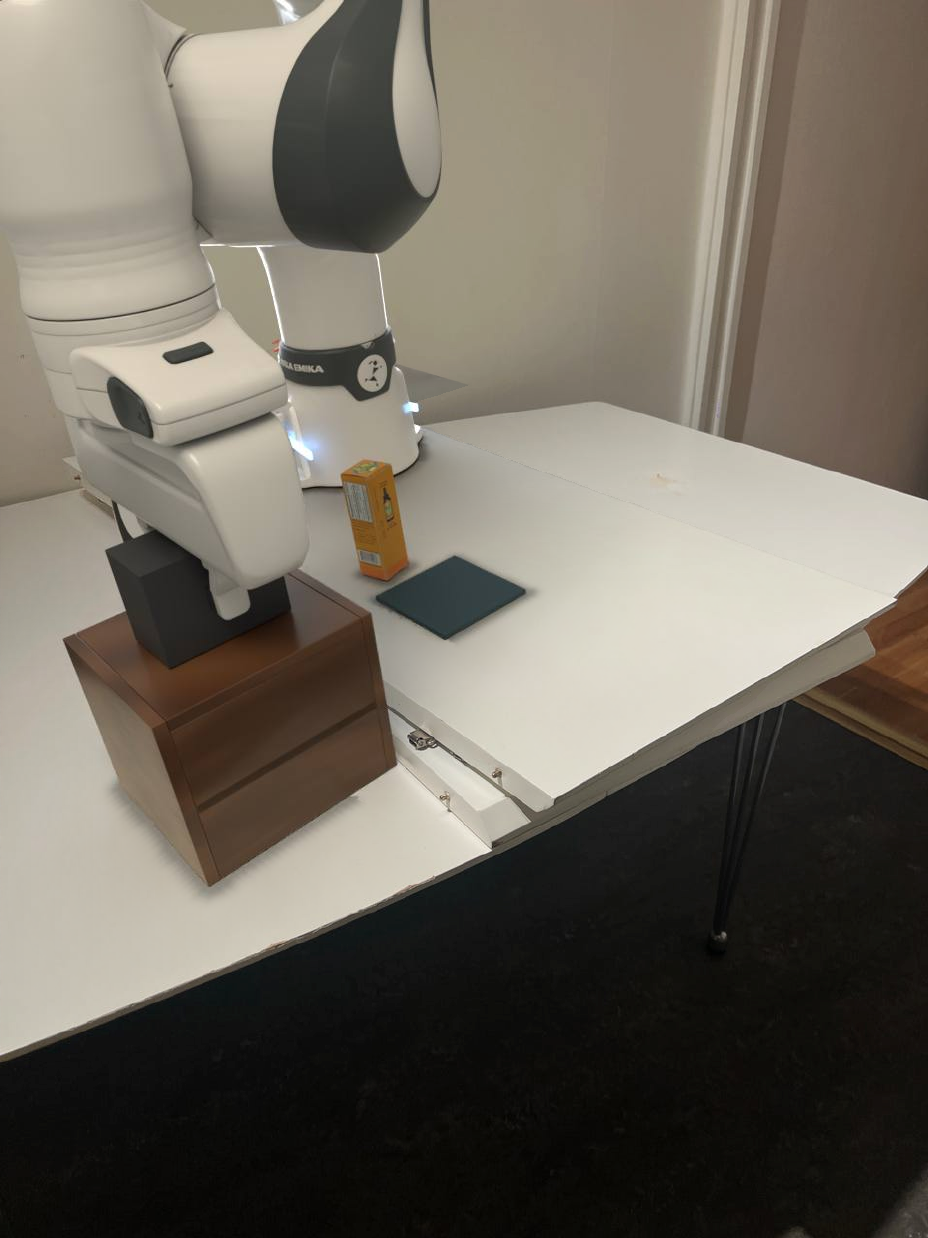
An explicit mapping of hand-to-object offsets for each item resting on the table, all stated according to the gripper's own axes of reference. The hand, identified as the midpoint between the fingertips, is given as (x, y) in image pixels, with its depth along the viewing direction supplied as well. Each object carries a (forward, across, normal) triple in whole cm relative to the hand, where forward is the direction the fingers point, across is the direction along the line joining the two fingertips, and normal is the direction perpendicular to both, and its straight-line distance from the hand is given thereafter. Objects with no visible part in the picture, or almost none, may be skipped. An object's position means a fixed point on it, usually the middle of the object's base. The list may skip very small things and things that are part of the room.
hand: (207, 593), depth 52 cm
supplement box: (+14, -15, +22) cm, 30 cm away
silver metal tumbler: (+14, -17, +5) cm, 23 cm away
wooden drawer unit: (+14, 0, 0) cm, 14 cm away
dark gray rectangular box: (+2, 0, 0) cm, 2 cm away
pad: (+14, -7, +23) cm, 28 cm away
